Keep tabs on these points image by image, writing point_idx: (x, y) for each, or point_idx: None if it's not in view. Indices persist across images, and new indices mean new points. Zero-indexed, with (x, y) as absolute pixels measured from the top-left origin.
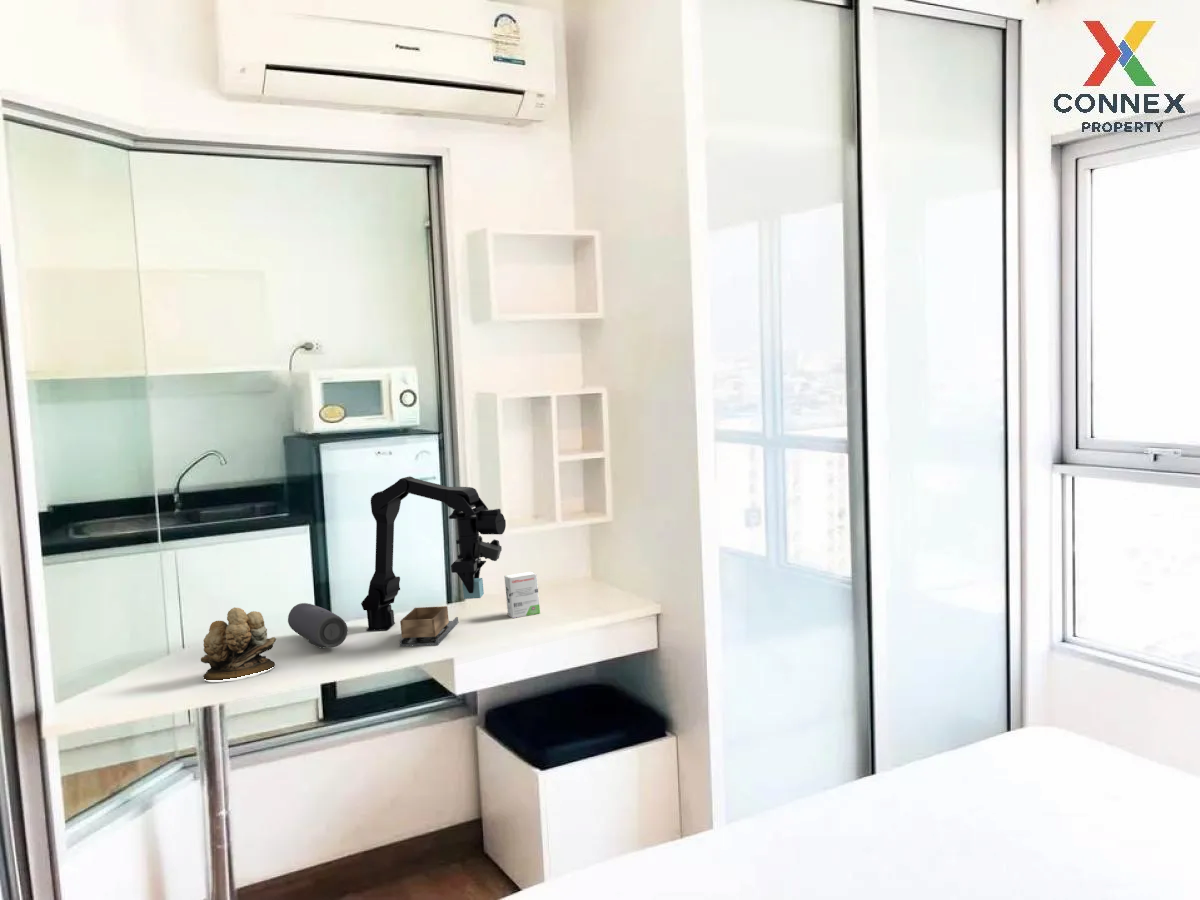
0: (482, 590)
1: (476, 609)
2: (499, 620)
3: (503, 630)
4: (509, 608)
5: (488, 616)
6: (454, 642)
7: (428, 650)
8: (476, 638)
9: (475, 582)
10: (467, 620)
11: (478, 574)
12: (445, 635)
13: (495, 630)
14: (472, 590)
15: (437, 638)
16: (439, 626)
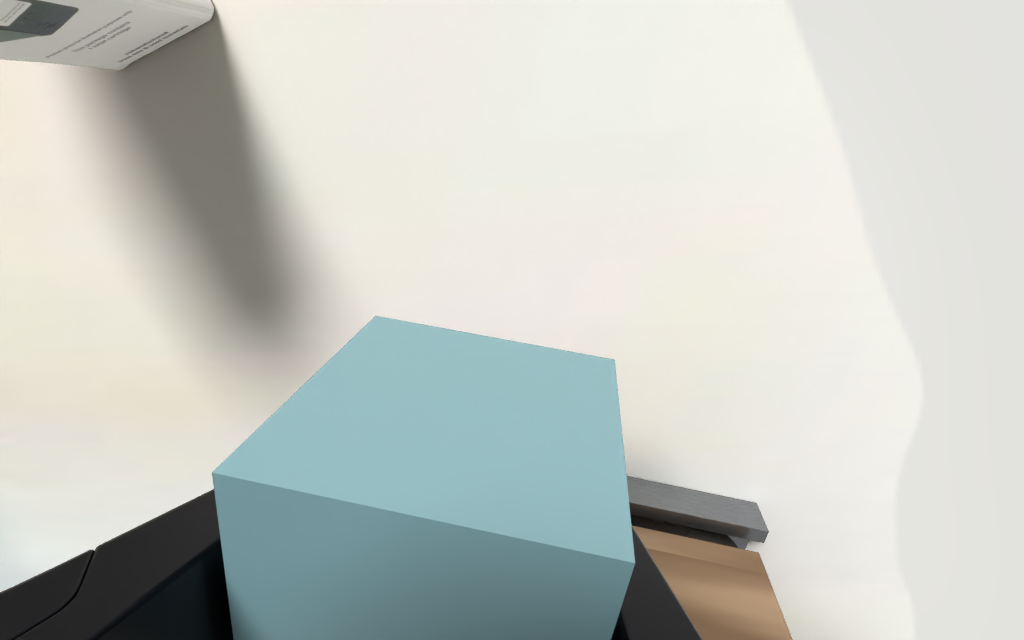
0: (413, 357)
1: (6, 311)
2: (266, 130)
3: (559, 71)
4: (114, 32)
5: (160, 223)
6: (741, 417)
7: (847, 547)
8: (708, 280)
9: (613, 612)
10: (246, 356)
11: (132, 617)
12: None
13: (538, 144)
14: (634, 539)
15: (752, 532)
16: (656, 559)
